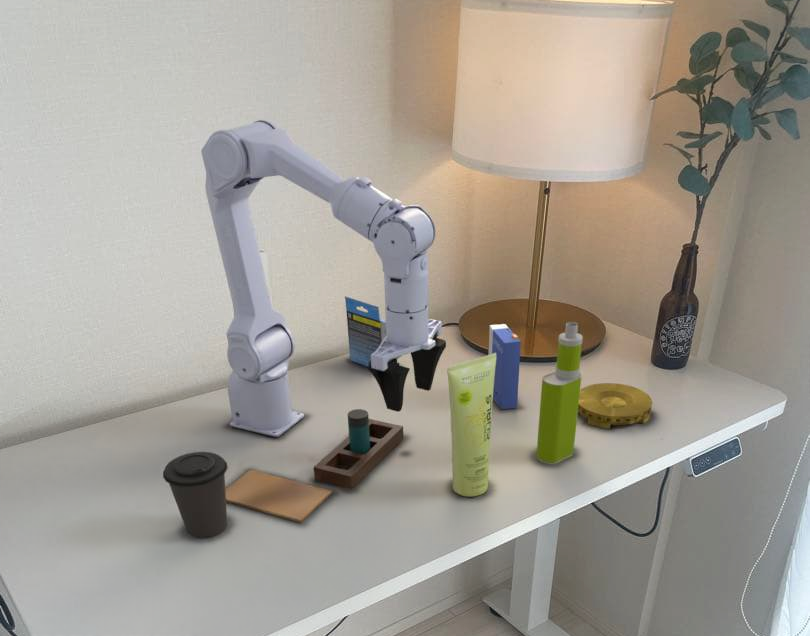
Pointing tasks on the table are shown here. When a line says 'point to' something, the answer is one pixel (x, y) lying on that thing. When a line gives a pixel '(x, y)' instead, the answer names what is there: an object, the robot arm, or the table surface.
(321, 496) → the cork mat
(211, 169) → the robot arm
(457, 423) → the tube
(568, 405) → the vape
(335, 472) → the pen stand
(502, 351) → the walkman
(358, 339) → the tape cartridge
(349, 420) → the teal capped bottle
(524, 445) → the table surface
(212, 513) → the coffee cup
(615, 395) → the yellow flat disc
